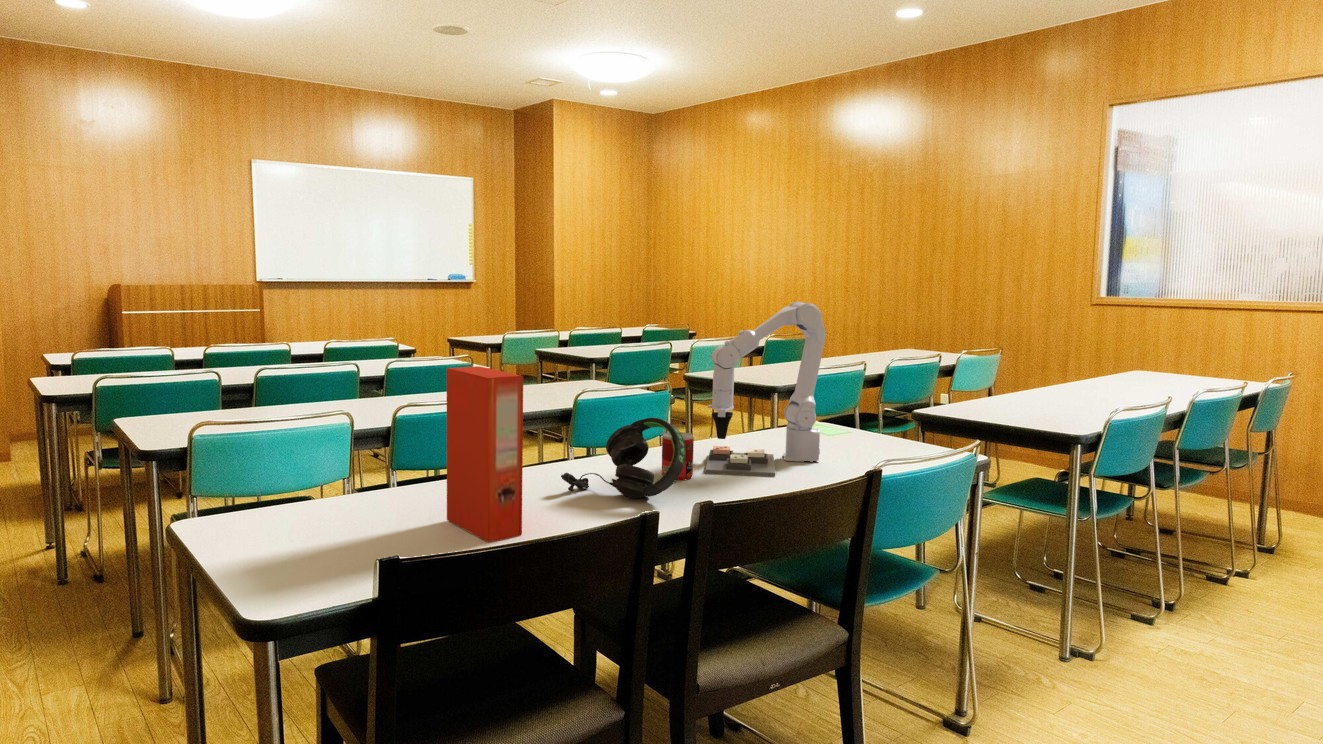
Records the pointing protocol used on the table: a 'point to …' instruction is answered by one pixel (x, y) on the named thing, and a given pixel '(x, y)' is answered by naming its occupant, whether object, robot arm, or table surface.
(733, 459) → the key two
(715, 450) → the key three
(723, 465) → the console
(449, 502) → the file binder
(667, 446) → the canned food
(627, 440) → the headset
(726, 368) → the robot arm
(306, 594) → the table surface
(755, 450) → the key one
